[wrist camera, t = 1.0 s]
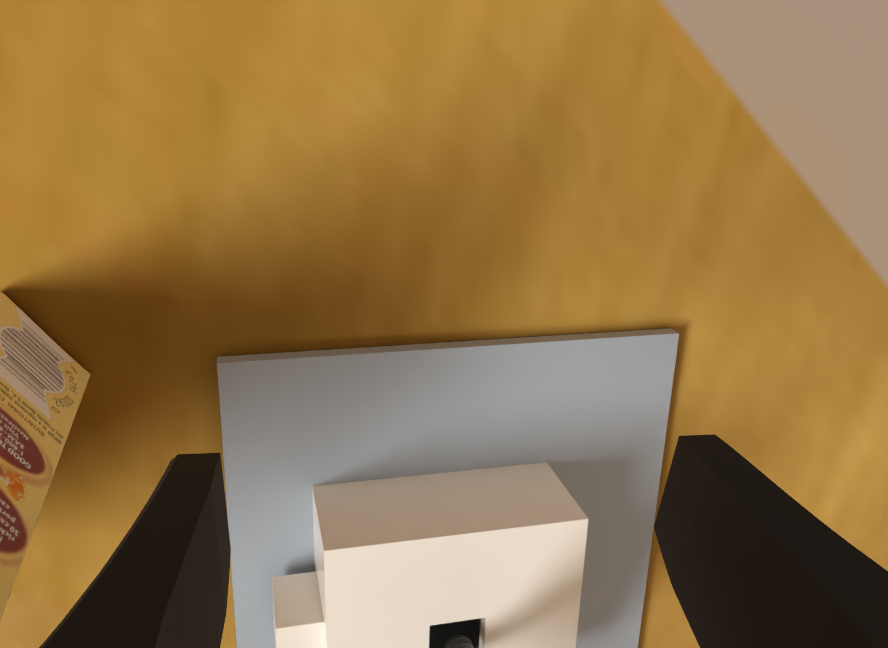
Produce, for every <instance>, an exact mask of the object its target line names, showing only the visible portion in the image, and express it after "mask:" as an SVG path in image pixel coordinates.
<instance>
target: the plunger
mask: <svg viewBox="0 0 888 648" xmlns="http://www.w3.org/2000/svg"><path fill="white" fill-rule="evenodd" d="M444 648H474V647H473V645H472V642H471V640H470V639H469V638H468V637H467V636H464V635H458V636H454V637H452V638H451V639H449V640H448V641H447V642H446V644H445V646H444Z"/></svg>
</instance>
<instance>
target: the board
mask: <svg viewBox="0 0 888 648" xmlns="http://www.w3.org/2000/svg"><path fill="white" fill-rule="evenodd" d="M678 339H679V333H678V332H677V331H675V330H674V329H672V328H664V329H648V330H632V331H616V332H601V333H585V334H569V335H553V336H537V337H521V338H505V339H489V340H474V341H458V342H442V343H426V344H410V345H394V346H378V347H362V348H347V349H331V350H315V351H299V352H283V353H267V354H251V355H235V356H220V357H217V373H218V387H219V401H220V415H221V429H222V443H223V457H224V471H225V485H226V499H227V513H228V527H229V537H230V546H231V569H232V583H233V598H234V612H235V626H236V640H237V648H276V646H275V633H274V615H273V596H272V577H276V576H284V575H292V574H300V573H308V572H315V563H314V530H313V498H312V486H318V485H328V484H338V483H347V482H357V481H367V480H377V479H387V478H396V477H406V476H416V475H426V474H436V473H445V472H455V471H465V470H475V469H485V468H494V467H504V466H514V465H524V464H534V463H543V462H547V463H548V465H549V466H550V467H551V469H552V470H553V471H554V473H555V474H556V475H557V477H558V478H559V480H560V481H561V482H562V484H563V485H564V486H565V488H566V489H567V490H568V492H569V493H570V494H571V496H572V497H573V499H574V500H575V501H576V503H577V504H578V505H579V507H580V508H581V509H582V511H583V512H584V514H585V515H586V516H587V518H588V529H587V539H586V549H585V559H584V568H583V578H582V588H581V598H580V608H579V618H578V628H577V638H576V648H638V642H639V635H640V627H641V620H642V612H643V604H644V597H645V589H646V582H647V574H648V567H649V559H650V551H651V544H652V536H653V529H654V521H655V513H656V506H657V498H658V491H659V483H660V476H661V468H662V460H663V453H664V445H665V438H666V430H667V423H668V415H669V407H670V400H671V392H672V385H673V377H674V370H675V362H676V354H677V347H678ZM458 635H464V636H467V637H468V638H469V639H470V640H471V642H472V645H473V647H474V648H477V647H479V635H480V618H479V619H472V620H465V621H459V622H452V623H445V624H438V625H431V626H430V630H429V648H444V646H445V644H446V642H447V641H448V640H449V639H451V638H452V637H454V636H458Z"/></svg>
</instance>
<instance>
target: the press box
mask: <svg viewBox="0 0 888 648" xmlns="http://www.w3.org/2000/svg"><path fill="white" fill-rule="evenodd" d="M312 498H313V530H314V563H315V572H308V573H300V574H292V575H284V576H276V577H272V596H273V615H274V633H275V646H276V648H429V630H430V626H431V625H438V624H445V623H452V622H459V621H465V620H472V619H479V618H480V635H479V647H477V648H576V638H577V628H578V618H579V608H580V598H581V588H582V578H583V568H584V559H585V549H586V539H587V529H588V518H587V516H586V515H585V514H584V512H583V511H582V509H581V508H580V507H579V505H578V504H577V503H576V501H575V500H574V499H573V497H572V496H571V494H570V493H569V492H568V490H567V489H566V488H565V486H564V485H563V484H562V482H561V481H560V480H559V478H558V477H557V475H556V474H555V473H554V471H553V470H552V469H551V467H550V466H549V465H548V463H547V462H543V463H534V464H524V465H514V466H504V467H494V468H485V469H475V470H465V471H455V472H445V473H436V474H426V475H416V476H406V477H396V478H387V479H377V480H367V481H357V482H347V483H338V484H328V485H318V486H312Z"/></svg>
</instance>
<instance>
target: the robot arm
mask: <svg viewBox="0 0 888 648" xmlns="http://www.w3.org/2000/svg"><path fill="white" fill-rule="evenodd" d="M654 529H655V532H656V536H657V539H658V542H659V546H660V549H661V553H662V556H663V559H664V562H665V565H666V569H667V572H668V575H669V578H670V581H671V584H672V586H673V589H674V591H675V593H676V596H677V598H678V600H679V602H680V604H681V607H682V609H683V611H684V613H685V616H686V618H687V620H688V622H689V624H690V627H691V629H692V631H693V633H694V635H695V637H696V640H697V642H698V644H699V646H700V648H888V571H887V570H885V569H884V568H882V567H881V566H880V565H878V564H877V563H876V562H874V561H873V560H872V559H870V558H869V557H867V556H866V555H865V554H863V553H862V552H861V551H859V550H858V549H856V548H855V547H854V546H852V545H851V544H850V543H848V542H847V541H846V540H844V539H843V538H842V537H841V536H839V535H838V534H837V533H835V532H834V531H833V530H831V529H830V528H829V527H828V526H826V525H825V524H824V523H823V522H821V521H820V520H819V519H818V518H816V517H815V516H814V515H813V514H811V513H810V512H809V511H808V510H806V509H805V508H804V507H803V506H801V505H800V504H799V503H798V502H797V501H795V500H794V499H793V498H792V497H790V496H789V495H788V494H787V493H786V492H784V491H783V490H782V489H781V488H780V487H778V486H777V485H776V484H775V483H774V482H772V481H771V480H770V479H769V478H768V477H766V476H765V475H764V474H763V473H762V472H760V471H759V470H758V469H757V468H756V467H754V466H753V465H752V464H751V463H750V462H748V461H747V460H746V459H745V458H744V457H742V456H741V455H740V454H739V453H738V452H736V451H735V450H734V449H733V448H731V447H730V446H729V445H728V444H727V443H725V442H724V441H723V440H721V439H720V438H719V437H717V436H716V435H692V436H679V439H678V442H677V446H676V449H675V453H674V457H673V460H672V464H671V467H670V471H669V475H668V478H667V482H666V485H665V489H664V493H663V496H662V500H661V503H660V507H659V511H658V514H657V518H656V522H655V525H654ZM230 555H231V546H230V537H229V528H228V519H227V510H226V501H225V492H224V483H223V474H222V465H221V456H220V453H204V454H178V455H177V456H176V457H175V458H173V459H172V460H171V462H170V463H169V465H168V467H167V469H166V471H165V473H164V475H163V476H162V478H161V480H160V482H159V483H158V485H157V487H156V488H155V490H154V492H153V493H152V495H151V497H150V498H149V500H148V502H147V503H146V505H145V506H144V508H143V510H142V511H141V513H140V514H139V516H138V517H137V519H136V521H135V522H134V524H133V525H132V527H131V528H130V530H129V531H128V533H127V534H126V535H125V537H124V538H123V540H122V541H121V543H120V544H119V546H118V547H117V549H116V550H115V551H114V553H113V554H112V556H111V557H110V559H109V560H108V562H107V563H106V564H105V566H104V567H103V569H102V570H101V571H100V573H99V574H98V575H97V577H96V578H95V579H94V580H93V582H92V583H91V584H90V586H89V587H88V588H87V590H86V591H85V592H84V593H83V595H82V596H81V597H80V599H79V600H78V601H77V602H76V604H75V605H74V606H73V608H72V609H71V610H70V611H69V613H68V614H67V615H66V617H65V618H64V619H63V620H62V621H61V623H60V624H59V625H58V626H57V627H56V629H55V630H54V631H53V632H52V633H51V635H50V636H49V637H48V638H47V639H46V641H45V642H44V643H43V644H42V645H41V646H40V647H39V648H220V644H221V639H222V633H223V628H224V622H225V617H226V608H227V596H228V584H229V569H230Z"/></svg>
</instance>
